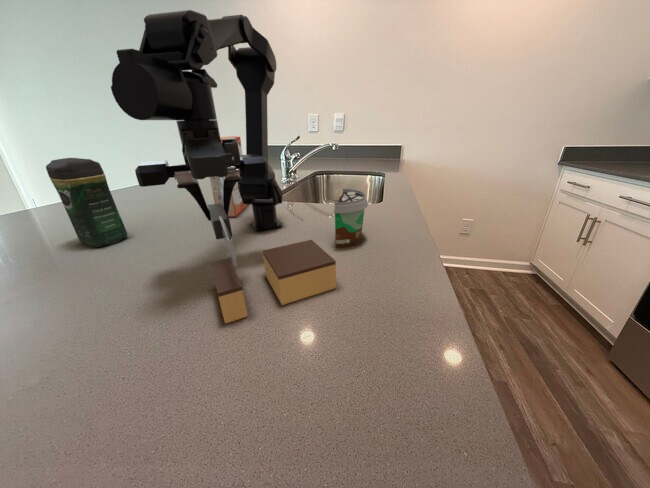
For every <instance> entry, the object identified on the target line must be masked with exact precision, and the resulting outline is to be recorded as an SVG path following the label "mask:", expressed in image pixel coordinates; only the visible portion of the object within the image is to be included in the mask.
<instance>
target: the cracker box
mask: <svg viewBox="0 0 650 488" xmlns="http://www.w3.org/2000/svg"><path fill="white" fill-rule="evenodd" d="M220 139H221V142H222V140H223V139H236V140H237V142H238V148H239V153H240V155H244V154H243V148H242V139H241V137H240V136H239V135H238V136H236V135H231V136H230V135H229V136H220ZM209 182H210V188H211V191H212V196H213V202H214V204H219V203H221V204H222V196H221V185H220V177H218V176H215V177H209ZM248 205H249V204H244V203H243V201H242V198H241V195H240V193H239V190H238V182H237V183H236V184H235V186H234V188H233V191H232V194H231V199H230V205H229V212H228V218H236V217H237V216H239V214H241V212H242V211H244V209H246V208H247V206H248Z"/></svg>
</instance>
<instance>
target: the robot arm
mask: <svg viewBox="0 0 650 488" xmlns="http://www.w3.org/2000/svg"><path fill="white" fill-rule="evenodd" d="M143 23H144V30H143V34H142V39H141V41H140V46H139V49H135V48H124V49H117V50H116V52H115V53H116V56H117V59H118V64H117V65H116V66H115V67H114V69H113V72H112V74H111V75H112V76H111V85H110V91H111V93H112V96H113V98H114V100H115V102H116V103H117V105H118V107H119V108H120V109H121V111H123V113H125V115H127V116H128V117H130V118H132V119H135V120H139V121H175V124H176V128H177V133H178V137H179V141H180V144H181V152H182V156H183V160H184V163H182V164H170V165H169V162H168V159H167V160H166V159H165V160H154V161H153V160H152V161H142V162H141V163H140V164H139V165H137V167H136V168H135V169H134V171H135V176H136V180H137V183H138V186H139V187H140V188H141V187H142V188H143V187H144V188H145V187H153V186H163V185H166V184H167V182H168V181H169V180H170V179H171V178H174V180H175V181H176V188H178V189H185V190H186V191H187V192H188V193H189V194H190V195H191V197H192V198H193V199H194V200H195V202H196V203H197V204H198V206H199V208H200V209H201V211H202V212H203V214H204V216H205V217H206V219H207V221H209V222H211V218H210V213H209V210H208V207H207V205H208V204H207V201H206V198H205V195H204V194H203V190H202V189H201V186H200V184H199V181H198V180H204V179H206V178H210V177H215V176H218V177H220V185H221V196H222V206H223V208H224V210H225V212H226V214H227V216H228V212H229V205H230V199H231V194H232V191H233V188H234V186H235V184H236V183H237V182H238V190H239V193H240V195H241V198H242V201H243V203H244V204H248V205H251V206H252V207H251V208H252V214H253V215H252V216H253V221H251V225H252V227H253V229H254V230H255V231H256V232H262V231H266V230H272V229H277V228H281V227H282V225H283V224H281V222H280V221H279V220H278V216H277V207H276V206H277V205H280V204H283V198H284V197H283V190H282V189H281V187H280V185H279V184H278V182H277V180H276V173H275V171H274V169H273V168H272V166H271V164H270V162H269V143H268V141H269V140H268V137H269V133H268V94H270V91H271V90H272V88H273V87H274V84H275V76H276V71H277V59H276V54H275V53H274V51H273V49H272V46H271V44H270V42H269V40H268V39H267V38H266V37H265V36H263V34H261V33H260V32H259V31H257V30H256V28H254V27H253V25H252V23H251V21H250V19H249V18H248V16H246V15H244V14H232V15H223V16H222V17H221V18H214V19H208V17H207V16H206V15H205V14H204V13H201V12H198V11H195V10H192V9H188V10H187V9H185V10H178V11H168V12H158V13H150V14H148V15H145V17H144V19H143ZM239 44H248V47H239V48H238V49H236V46H235V45H239ZM225 48H227V58H228V59H227V60H228V61H229V62H230V64H231V65H232V67H233V69H234V70H235V75H236V78H237V80H238V81H239V83H240V85H241V86H242V88H243V91H244V114H245V115H244V119H245V121H244V122H245V153H246V154H243V155H240V153H239V148H238V142H237V140H236V139H223V140H222V142H221V139H220V137H221V134H220V129H219V123H218V118H217V112H216V106H215V101H214V96H213V91H212V89H216V88H218V83H217V82H216V80H215V79H214V78H213V77H212V76H210V74H209V73H208V71H207V70H206V69H205V68H203V67H204V66H209V65H210V64H211V63H212V62H214V60H215V59H216V58H217V57H218V55H219V54H218V52H217V51H218V50H221V49H225Z"/></svg>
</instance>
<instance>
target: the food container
mask: <svg viewBox="0 0 650 488" xmlns="http://www.w3.org/2000/svg"><path fill="white" fill-rule="evenodd" d="M368 206H369V201H368V197H367V196H366V193H365V192H364V191H362V190H358V189H353V188H342V193H341V195H340V196H339V198H338V201H335V202H334V208H333V209H334V211H333V214H334V228H335V229H334V230H335V247H336V248H344V247H345V248H346V247H351V246H355V245H357V244H358V243H360V242H361V240H362V233H363V227H364V226H363V225H364V218H365V217H364V216H365V209H366V208H368Z"/></svg>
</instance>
